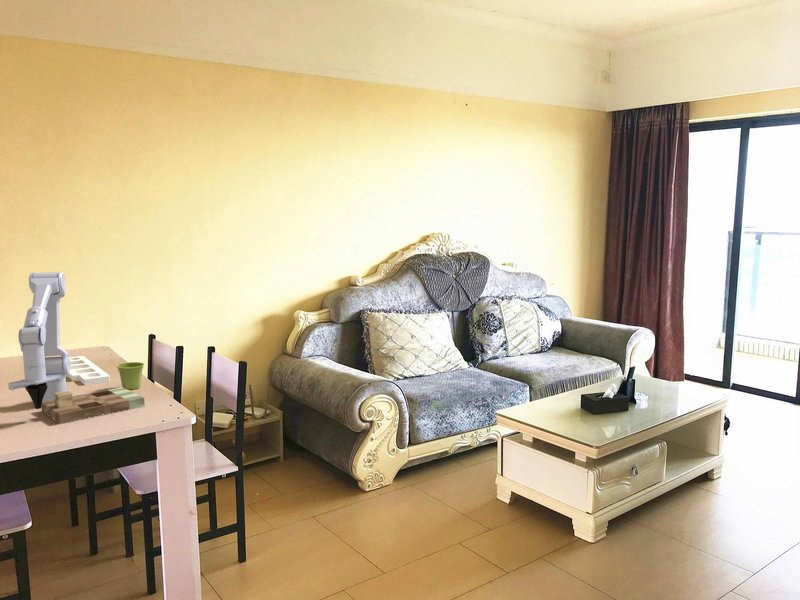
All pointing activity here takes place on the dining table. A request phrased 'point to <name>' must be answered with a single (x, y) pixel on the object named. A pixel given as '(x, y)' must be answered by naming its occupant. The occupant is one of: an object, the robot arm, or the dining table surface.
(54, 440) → the dining table surface
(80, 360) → the holder
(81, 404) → the trap board
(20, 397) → the dining table surface
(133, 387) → the plant pot
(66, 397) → the maple block
